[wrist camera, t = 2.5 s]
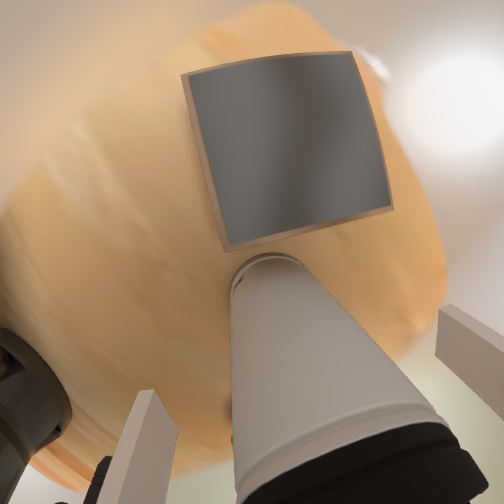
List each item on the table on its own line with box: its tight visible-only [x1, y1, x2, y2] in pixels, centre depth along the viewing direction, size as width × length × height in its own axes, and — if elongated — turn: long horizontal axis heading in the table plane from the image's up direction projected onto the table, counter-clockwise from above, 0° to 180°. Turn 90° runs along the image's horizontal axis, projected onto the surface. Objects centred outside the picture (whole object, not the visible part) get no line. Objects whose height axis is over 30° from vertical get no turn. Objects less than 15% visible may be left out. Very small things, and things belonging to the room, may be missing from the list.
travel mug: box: [230, 253, 489, 504], centre depth 11 cm, size 6×7×20 cm
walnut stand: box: [181, 51, 394, 253], centre depth 16 cm, size 10×10×6 cm
